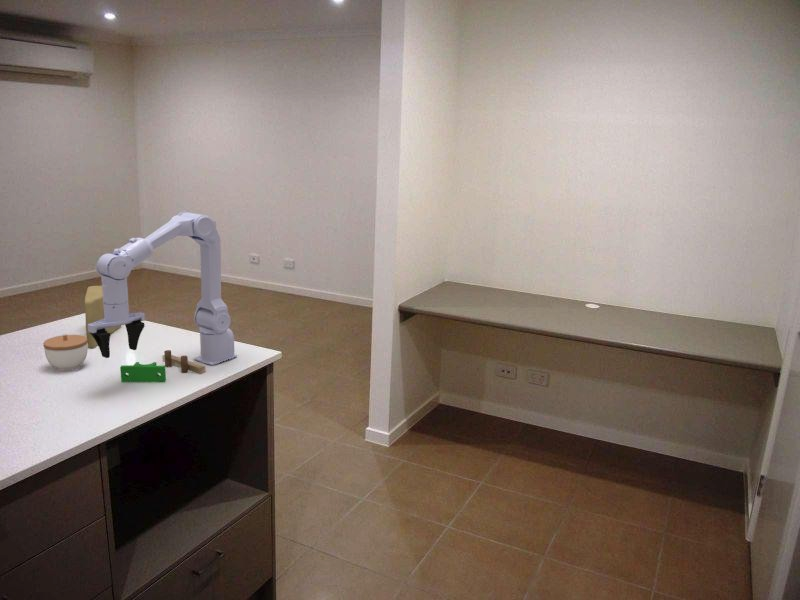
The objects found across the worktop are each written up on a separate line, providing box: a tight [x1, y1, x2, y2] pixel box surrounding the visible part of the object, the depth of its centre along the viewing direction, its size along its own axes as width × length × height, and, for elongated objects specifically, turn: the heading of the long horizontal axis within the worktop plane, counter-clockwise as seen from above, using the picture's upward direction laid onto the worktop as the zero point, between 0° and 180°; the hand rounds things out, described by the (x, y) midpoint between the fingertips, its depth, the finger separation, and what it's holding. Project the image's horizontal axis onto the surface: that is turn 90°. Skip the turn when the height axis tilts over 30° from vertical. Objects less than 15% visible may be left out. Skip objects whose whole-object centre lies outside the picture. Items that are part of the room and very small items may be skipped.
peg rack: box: [161, 349, 206, 375], centre depth 172 cm, size 4×16×4 cm, turn 58°
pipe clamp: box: [119, 361, 167, 383], centre depth 163 cm, size 11×4×5 cm, turn 96°
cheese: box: [84, 285, 122, 349], centre depth 192 cm, size 22×10×15 cm, turn 14°
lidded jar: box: [42, 333, 89, 371], centre depth 168 cm, size 11×11×9 cm
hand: (119, 353), depth 155 cm, fingers open, 7 cm apart
